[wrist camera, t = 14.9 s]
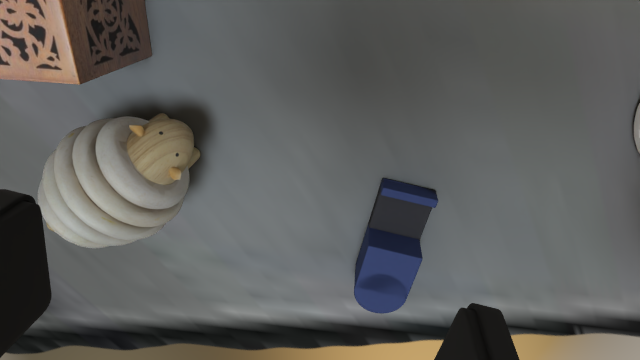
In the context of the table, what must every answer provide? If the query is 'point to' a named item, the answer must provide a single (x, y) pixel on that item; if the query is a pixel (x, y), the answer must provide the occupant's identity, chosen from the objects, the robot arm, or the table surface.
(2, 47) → the tissue box cover
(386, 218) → the navy rounded-end tab
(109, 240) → the toy sheep
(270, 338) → the table surface
